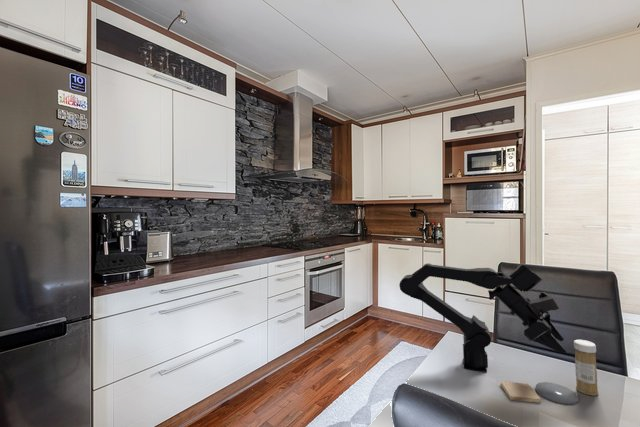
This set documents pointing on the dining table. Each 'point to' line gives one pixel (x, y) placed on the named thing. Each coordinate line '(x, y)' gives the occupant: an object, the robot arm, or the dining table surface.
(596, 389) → the sprinkles bottle
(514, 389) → the tan square cloth
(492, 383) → the dining table surface
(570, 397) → the coaster
